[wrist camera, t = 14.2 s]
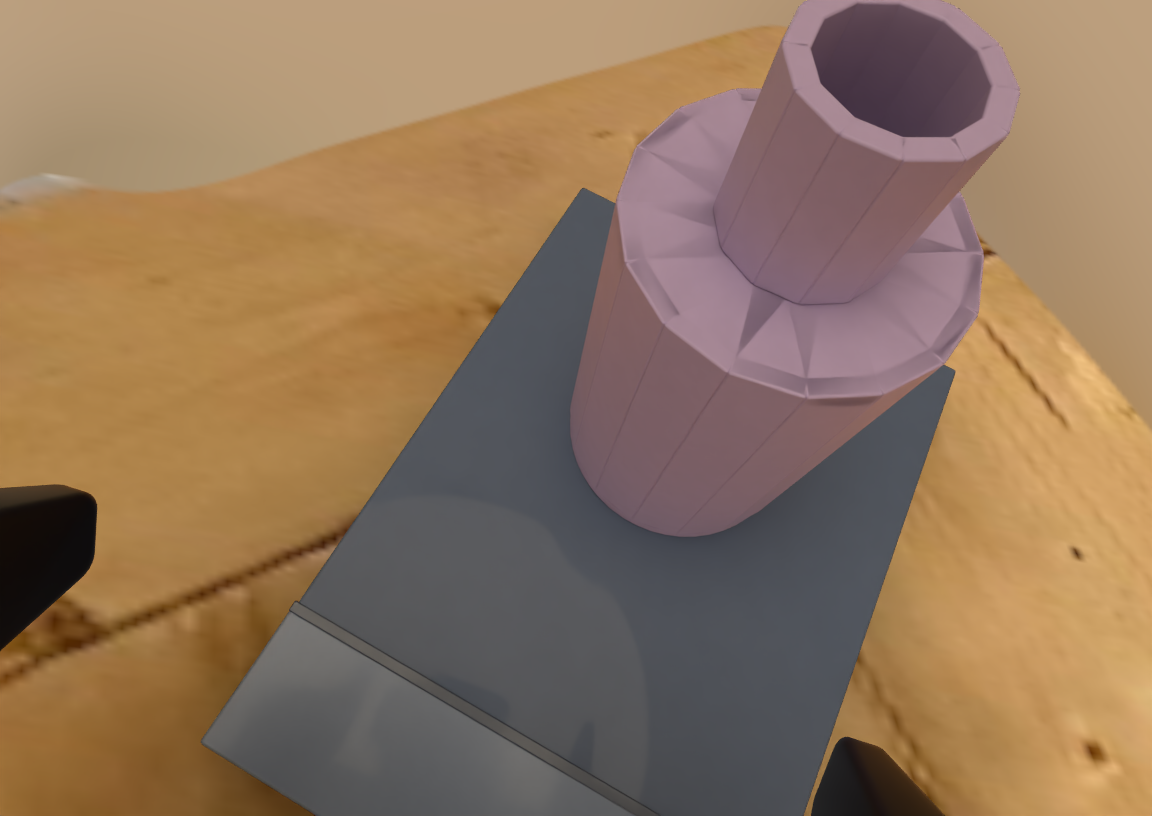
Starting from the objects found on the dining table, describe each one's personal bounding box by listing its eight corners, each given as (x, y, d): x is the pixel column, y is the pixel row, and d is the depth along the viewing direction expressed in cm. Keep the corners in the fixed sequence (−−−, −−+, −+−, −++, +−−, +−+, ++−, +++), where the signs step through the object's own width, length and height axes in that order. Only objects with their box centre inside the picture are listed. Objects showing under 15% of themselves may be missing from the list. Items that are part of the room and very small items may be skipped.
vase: (803, 529, 21) (1226, 269, 9) (580, 545, 20) (700, 283, 8) (761, 330, 24) (1045, -88, 11) (561, 337, 23) (630, -105, 11)
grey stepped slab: (702, 1039, 18) (722, 1070, 16) (221, 740, 19) (197, 742, 18) (932, 390, 25) (960, 370, 24) (576, 214, 27) (581, 183, 25)
